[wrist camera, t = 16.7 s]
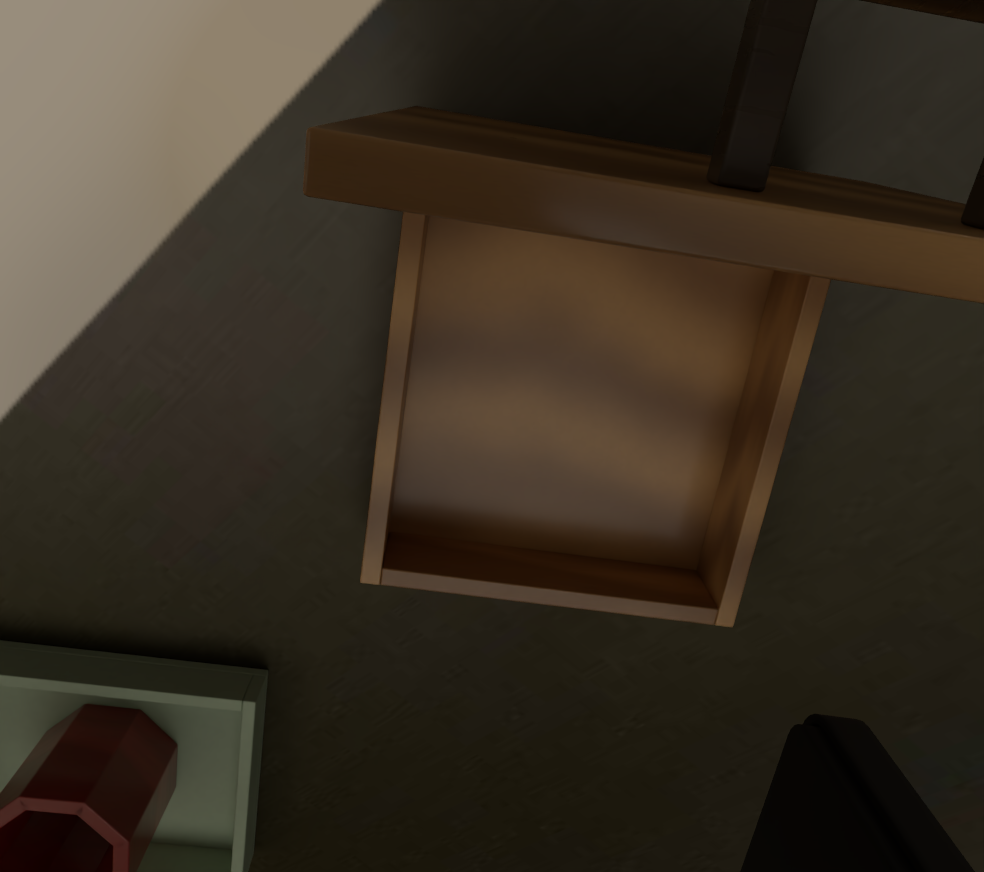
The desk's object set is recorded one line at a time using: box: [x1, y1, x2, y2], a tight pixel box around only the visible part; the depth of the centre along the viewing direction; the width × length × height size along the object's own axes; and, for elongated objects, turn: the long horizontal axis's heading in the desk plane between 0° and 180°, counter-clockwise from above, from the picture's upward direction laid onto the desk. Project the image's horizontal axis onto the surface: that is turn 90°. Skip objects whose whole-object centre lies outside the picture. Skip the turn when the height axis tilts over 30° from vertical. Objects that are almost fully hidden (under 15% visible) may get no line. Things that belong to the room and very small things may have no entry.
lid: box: [303, 0, 984, 303], centre depth 18 cm, size 18×16×5 cm
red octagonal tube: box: [0, 704, 178, 872], centre depth 36 cm, size 6×6×6 cm
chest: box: [360, 212, 831, 627], centre depth 32 cm, size 18×16×4 cm
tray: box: [0, 640, 268, 872], centre depth 38 cm, size 14×11×2 cm
